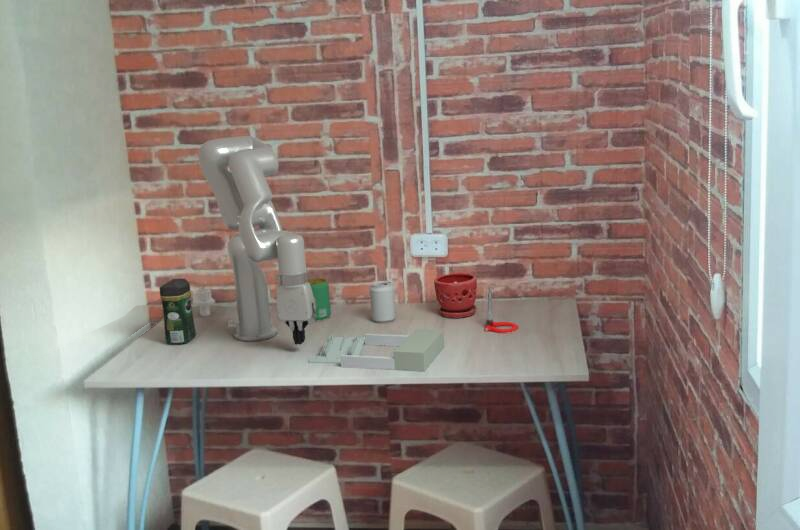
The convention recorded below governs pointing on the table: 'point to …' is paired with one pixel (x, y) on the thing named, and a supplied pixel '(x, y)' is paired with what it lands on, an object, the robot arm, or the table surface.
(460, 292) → the plant pot
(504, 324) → the tow hook
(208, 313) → the pipe fitting
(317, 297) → the beverage can
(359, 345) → the metal bracket
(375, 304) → the can
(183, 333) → the coffee jar
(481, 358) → the table surface
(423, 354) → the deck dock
